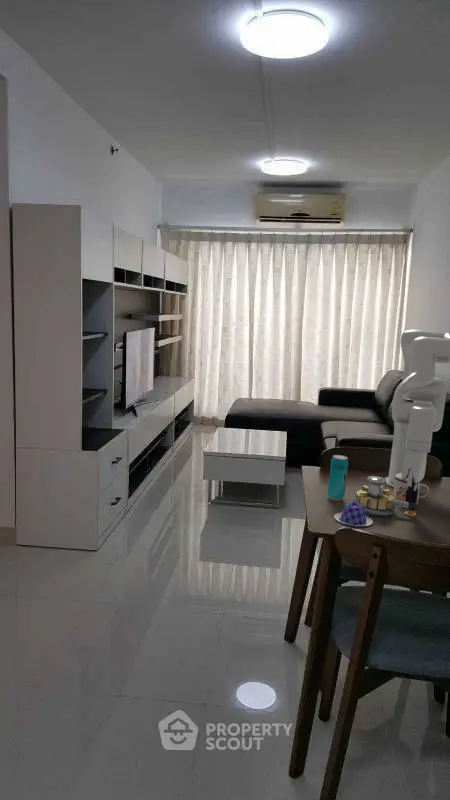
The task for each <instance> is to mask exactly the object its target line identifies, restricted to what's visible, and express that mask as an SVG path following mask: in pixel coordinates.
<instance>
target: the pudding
mask: <svg viewBox="0 0 450 800" xmlns="http://www.w3.org/2000/svg"><path fill="white" fill-rule="evenodd" d="M333 517H334V519H335V520H336V521H338V522H339V523H341V524H345V525H347V526H354V527H366V526H367V527H368V526H371V525H372V524H373V523H374V521H373V519H372V518H371V517H370V516H366V515H365V508H364V507H363V505H361V504H358V503H352V502H348V503H346V504H345V505H344V508H343V510H342V512H337V513H335V514H334V515H333ZM339 518H340V520H341V521H342V522H341V521H340V520H339Z"/></svg>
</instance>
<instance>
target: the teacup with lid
mask: <svg viewBox="0 0 450 800" xmlns="http://www.w3.org/2000/svg"><path fill="white" fill-rule="evenodd" d="M401 478H402V473H399V474H396V475H395V484H394V487H393V492H392V496H393V500H398V501H403V502H406V501H405V498H406V491H407V480H408V478H407V479H406V480H404V481H403V480H402V479H401ZM422 480H423V479H422ZM422 480H420V482H419V487H418V488H419V489H418V497H417V504H416V506H417V505H418V504H419V499H424V498H426V497H427V496H428V495H429V492H430V488H429V486H428V485H427V484H425V483H422ZM421 487H423V488H424V487H425V489H426V492H425V493H424V494H422V495H420V490H421Z"/></svg>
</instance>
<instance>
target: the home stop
mask: <svg viewBox="0 0 450 800" xmlns="http://www.w3.org/2000/svg"><path fill="white" fill-rule="evenodd" d="M404 515H405V516H407V517H416V516H417V513H416V511H410V510H408V509H407V510H406V511H404Z"/></svg>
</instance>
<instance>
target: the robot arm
mask: <svg viewBox="0 0 450 800" xmlns="http://www.w3.org/2000/svg"><path fill="white" fill-rule="evenodd" d="M400 347H401V353H402V356H403V362H404V364H403V371H402V372H403V373H402V379H401V382H400V383H399V384H397V387H396V389H395V391H394V393H393V399H392V409H391V410H392V411H391V416H392V420H393V421H394V422H393V426H394V427H393V428H394V429H393V439H392V447H391V453H390V454H391V455H390V462H389V463H390V464H389V470H388V476H386V477H384V479H386V483H385V484H384V485H387V486H389V487H392V488H394V484H395V475H396V474H399V473H402V478H401V479H402V480H403V481H404V480H406V479H407V478H408V480H407V491H406V498H405V501H406V502H410V503H416V502H417V495H418V487H419V482H420V480H423V479H424V477H425V475H426V474H425V473H426V467H427V457H428V453H431V447H432V440H433V432H434V433H435V432H439V430H440V429H441V428H442V425H443V420H444V412H445V405H446V397H447V383H446V380H445V379H443V378H440V377H437V376H436V364H437V363H439V364H450V333H449V332H443V331H435V330H434V331H433V330H422V329H408V330H404V331H403V332H402V334H401V336H400ZM402 399H405V400H407V401H404V400H402ZM408 400H409V401H408ZM411 401H412V402H411ZM421 402H423V403H421ZM428 403H429V404H428Z"/></svg>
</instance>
